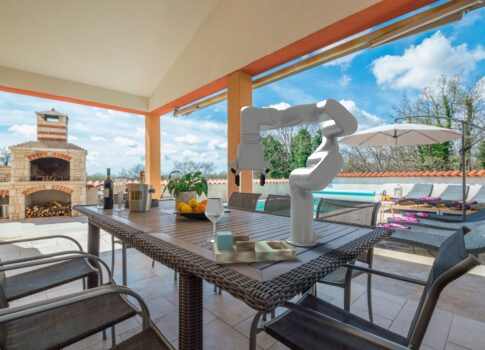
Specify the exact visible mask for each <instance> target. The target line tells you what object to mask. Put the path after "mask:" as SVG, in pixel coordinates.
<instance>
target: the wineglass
mask: <svg viewBox="0 0 485 350" xmlns="http://www.w3.org/2000/svg"><path fill="white" fill-rule="evenodd" d="M204 215H205V217H206V218H207V219H208V220H210V222H211V223H212V225H213V226H212V227H213V229H212V230H213V232H212V234H213V235H212V238H209V239H206V242H207V243H209V244H212V243H216V224H217V222H219V221H220V220H221V219H222V218H223V217H224V215H225V207H224V202H223V199H222V197H221V198H220V197H209V198H207V201H206V204H205V208H204Z"/></svg>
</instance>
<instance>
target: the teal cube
mask: <svg viewBox="0 0 485 350" xmlns="http://www.w3.org/2000/svg"><path fill="white" fill-rule="evenodd" d="M233 235H234V234H233V233H232V231H231V230H230V231H229V230H228V231H216V233H215V239H216V247H217V249H218V250H233Z"/></svg>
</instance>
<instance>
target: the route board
mask: <svg viewBox="0 0 485 350" xmlns="http://www.w3.org/2000/svg"><path fill="white" fill-rule="evenodd" d="M211 244H212V245H211V246H212V249H211V251H212V256H213V258H214V262H215V264H216V265H221V264H222V265H223V264H238V263H239V264H240V263H254V262H255V263H256V262H271V261H275V262H277V261H289V260H297V250H296V249H295V248H293V247H292V246H291V245H290V244H289V243H287V242H286V241H284V240H280V239H278V240H260V241H255V240H250V235H249V234H233V250H218V249H217V247H216V243H211Z"/></svg>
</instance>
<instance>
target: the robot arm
mask: <svg viewBox="0 0 485 350" xmlns="http://www.w3.org/2000/svg"><path fill="white" fill-rule="evenodd" d="M323 122H324V123H323ZM319 123H323V124H322V126H321V129H320V130H321V131H320V133H321V143H320V144H319V146H318V147H317V148H316V149H315V150H314V151H313V152H312V153H311V154H310V155H309V156H308V158H307V159H306V163H305V166H306V167H298V168H297V167H296V168H295V169H293V170H292V171H291V172H290V173H289V176H288V186H289V191H290V213H289V214H290V219H289V220H290V223H289V224H290V225H289V229H290V230H289V236H288V237H287V238H286V241H285V243H287V244H288V245H290V246H291V245H292V246H295V247H314V246H317V244H318V239H324V238H325V234H324V233H318V232H315V231H314V224H315V223H314V220H315V219H314V216H315V213H314V212H315V210H314V209H315V208H314V207H315V200H314V199H315V198H314V196H313V193H312V192H322V191H323V190H325V189H326V188H327V187H328V186H329V185H330V184H331V183H332V182H333V180H334V179H335V178H336V177H337V176H338V175H339V173H340V172H341V170H342V169H343V165H344V157H343V154H342V153H341V152H340V146H339V141H338V138H343V137H347V136H352V135H354V134H355V133H357V131H358V128H359V125H358V124H359V123H358V120H357V118H356V117H355V116H354V114H353V113H351V112H350V111H349V110H348V109H347V108H346V107H345V106H344V105H343V104H342V103H340V101H338V100H336V99H334V98H326V99H324V100H321V101H319V102H314V103H305V104H304V103H303V104H295V105H291V106H288V107H286V108H282V109H277V108H275V107H257V106H254V105H253V106H251V105H249V106H244V107H242V108H241V109H240V143H238V144H237V149H236V159H234V160H232V161H230V162H229V163H227V167H228V169H229V170H230V172H231V173H232V174H233V176H234V184H235V185H236V187H240V186H241V185H240V184H241V181H240V179H241V177H240V176H241V175H240V173H241V171H258V172H259V173H260V176H259V186H260V187H265V184H266V176H267V174H268V173H269V172H270V171H271V169H272V167H273V163H271V162H269V161H268V160H266V159H265V155H264V148H263V144H262V143H261V142H264V141H265V138H264V137H262V136H261V132H267V131H273V130H278V129H279V130H280V129H286V128H294V127H300V126H305V125H306V126H307V125H313V124H319ZM233 165H235V166H236V167H235V168H236V169H235V168H234V166H233ZM265 166H266V169H264V168H265Z"/></svg>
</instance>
